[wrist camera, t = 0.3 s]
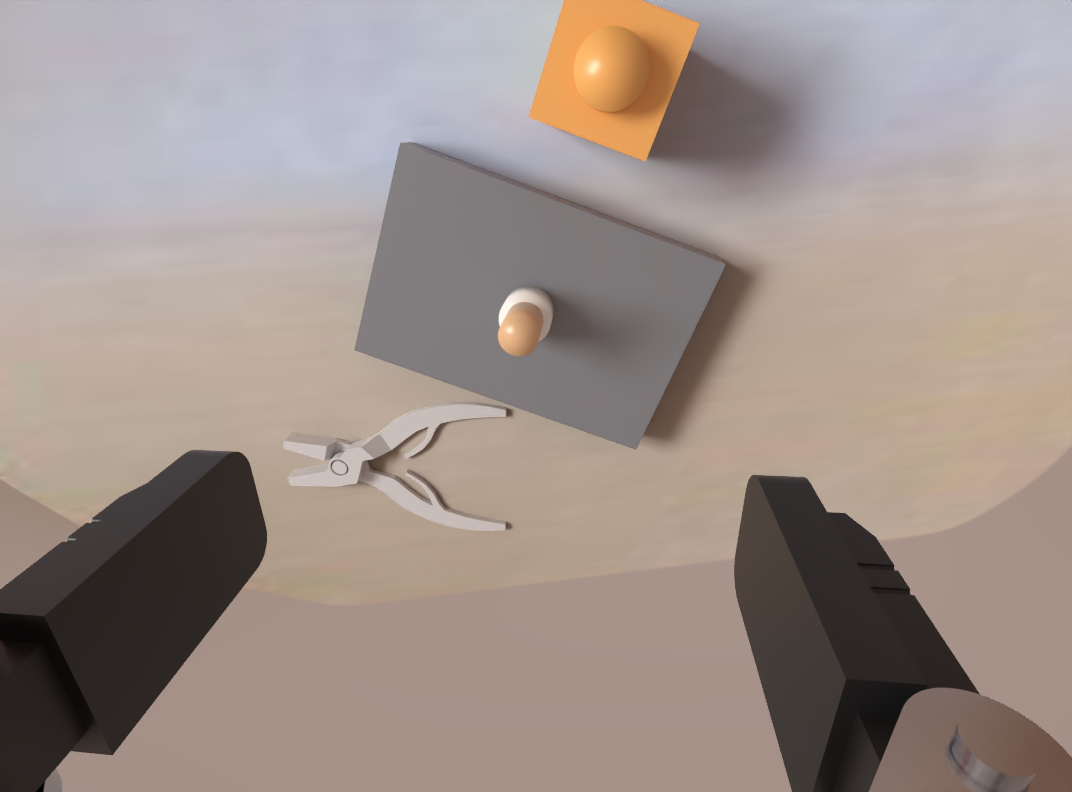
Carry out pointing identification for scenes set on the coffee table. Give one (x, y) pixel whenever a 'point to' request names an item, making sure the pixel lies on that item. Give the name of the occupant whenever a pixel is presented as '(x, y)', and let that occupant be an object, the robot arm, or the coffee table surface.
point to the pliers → (353, 457)
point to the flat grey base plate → (530, 296)
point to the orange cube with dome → (613, 71)
